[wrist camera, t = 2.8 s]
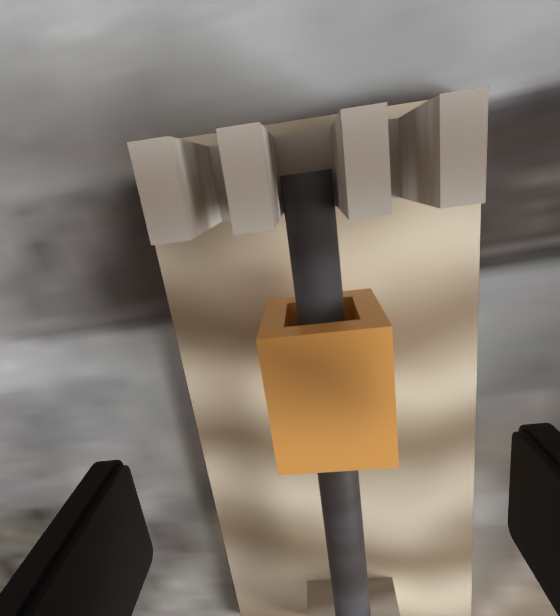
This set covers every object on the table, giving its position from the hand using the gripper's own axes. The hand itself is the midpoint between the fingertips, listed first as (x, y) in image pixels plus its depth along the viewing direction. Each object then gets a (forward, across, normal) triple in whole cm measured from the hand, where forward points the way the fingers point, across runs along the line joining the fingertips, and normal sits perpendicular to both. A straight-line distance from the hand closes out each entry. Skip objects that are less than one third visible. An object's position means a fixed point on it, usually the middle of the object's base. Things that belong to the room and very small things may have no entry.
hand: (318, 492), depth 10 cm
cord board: (+11, -1, +6) cm, 13 cm away
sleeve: (+7, -1, 0) cm, 7 cm away
